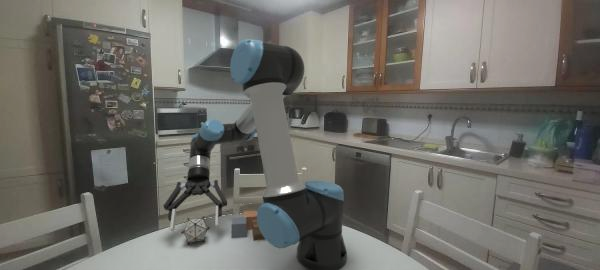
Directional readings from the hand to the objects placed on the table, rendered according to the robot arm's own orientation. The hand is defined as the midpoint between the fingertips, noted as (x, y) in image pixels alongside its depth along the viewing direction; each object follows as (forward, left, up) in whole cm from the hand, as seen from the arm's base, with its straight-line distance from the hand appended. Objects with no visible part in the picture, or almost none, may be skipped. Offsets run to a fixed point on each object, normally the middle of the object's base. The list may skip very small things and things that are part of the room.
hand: (194, 228), depth 86 cm
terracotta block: (+8, -18, -5) cm, 21 cm away
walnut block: (0, -21, -5) cm, 22 cm away
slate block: (+3, -14, -5) cm, 15 cm away
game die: (+1, 0, -5) cm, 6 cm away
